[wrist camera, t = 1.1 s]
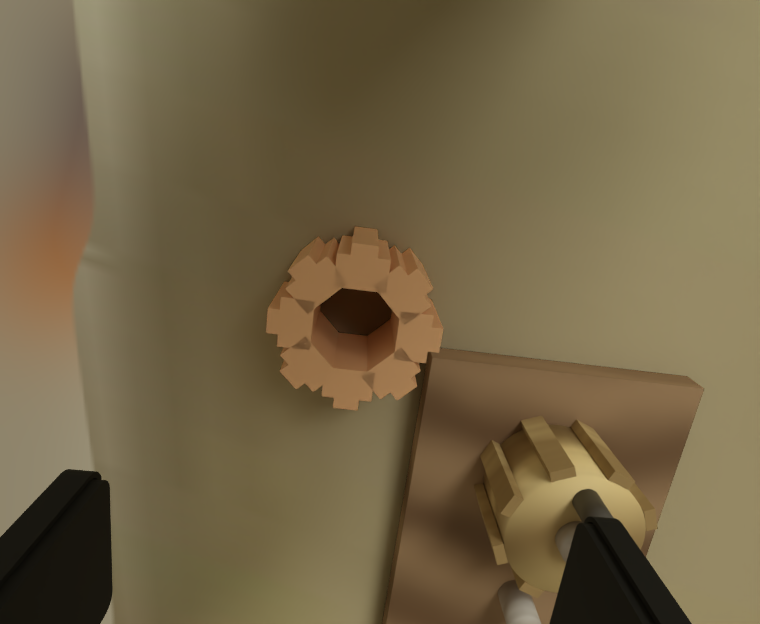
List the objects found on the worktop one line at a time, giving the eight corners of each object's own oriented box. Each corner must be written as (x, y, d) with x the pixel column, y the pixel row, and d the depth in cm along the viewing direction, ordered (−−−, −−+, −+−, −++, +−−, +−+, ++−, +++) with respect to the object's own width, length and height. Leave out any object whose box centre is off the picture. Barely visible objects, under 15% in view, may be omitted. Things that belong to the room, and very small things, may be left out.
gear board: (429, 346, 27) (454, 430, 19) (687, 376, 28) (814, 468, 20) (379, 639, 33) (382, 796, 25) (593, 656, 34) (662, 814, 26)
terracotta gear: (289, 217, 25) (273, 233, 21) (441, 237, 25) (456, 255, 21) (278, 360, 27) (261, 400, 23) (418, 375, 28) (427, 418, 23)
